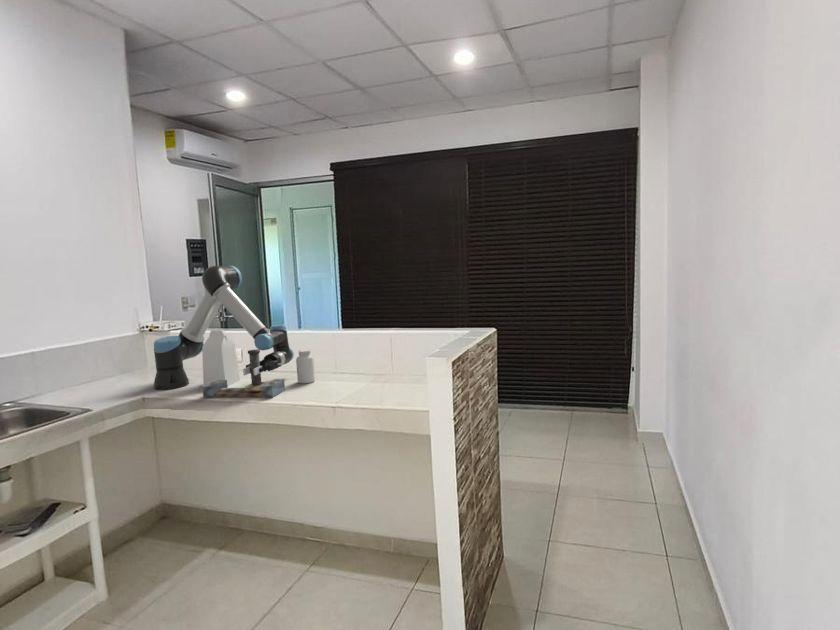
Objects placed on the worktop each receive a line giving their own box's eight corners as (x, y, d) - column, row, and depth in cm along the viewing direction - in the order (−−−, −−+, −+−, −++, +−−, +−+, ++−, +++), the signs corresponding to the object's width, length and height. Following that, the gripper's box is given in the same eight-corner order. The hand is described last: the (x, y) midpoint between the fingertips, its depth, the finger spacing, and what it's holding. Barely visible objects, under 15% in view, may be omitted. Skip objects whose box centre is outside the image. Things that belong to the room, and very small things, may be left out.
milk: (203, 386, 240) (198, 332, 237) (218, 380, 251) (213, 328, 248) (225, 386, 237) (220, 331, 234) (240, 380, 248) (235, 328, 245)
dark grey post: (245, 392, 217) (241, 352, 215) (254, 387, 225) (250, 348, 223) (260, 392, 216) (256, 352, 214) (268, 387, 224) (265, 348, 222)
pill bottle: (317, 379, 242) (315, 349, 240) (309, 384, 234) (307, 352, 232) (303, 379, 244) (300, 348, 242) (294, 383, 236) (292, 352, 234)
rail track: (203, 398, 218) (202, 385, 218) (218, 390, 230) (217, 378, 230) (272, 397, 213) (271, 385, 213) (285, 390, 225) (284, 378, 224)
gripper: (291, 368, 236) (268, 380, 213) (257, 368, 239) (231, 381, 216) (290, 352, 235) (267, 363, 212) (256, 353, 238) (229, 363, 215)
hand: (249, 372), depth 214 cm, fingers closed on dark grey post, 4 cm apart
